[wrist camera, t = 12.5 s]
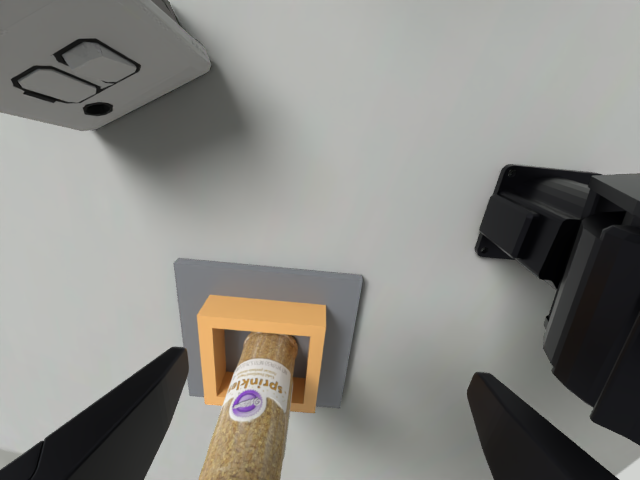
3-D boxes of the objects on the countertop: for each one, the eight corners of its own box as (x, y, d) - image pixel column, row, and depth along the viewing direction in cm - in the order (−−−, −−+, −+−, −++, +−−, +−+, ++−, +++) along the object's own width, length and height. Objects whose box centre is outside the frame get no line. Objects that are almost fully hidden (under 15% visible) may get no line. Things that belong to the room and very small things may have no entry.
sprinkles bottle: (286, 318, 24) (242, 545, 11) (306, 359, 25) (287, 594, 13) (234, 332, 24) (140, 561, 12) (257, 371, 26) (195, 606, 14)
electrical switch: (93, 133, 19) (-117, 129, 10) (41, 48, 18) (-254, -43, 9) (219, 69, 17) (100, -2, 9) (174, -31, 16) (-24, -237, 7)
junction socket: (361, 274, 23) (367, 300, 20) (339, 400, 28) (341, 435, 25) (178, 258, 23) (155, 281, 19) (193, 388, 28) (177, 421, 25)
